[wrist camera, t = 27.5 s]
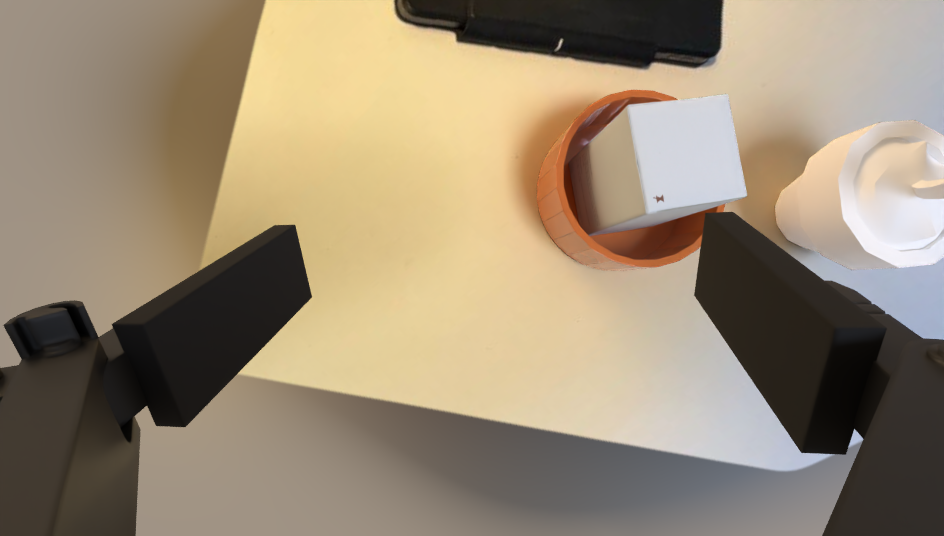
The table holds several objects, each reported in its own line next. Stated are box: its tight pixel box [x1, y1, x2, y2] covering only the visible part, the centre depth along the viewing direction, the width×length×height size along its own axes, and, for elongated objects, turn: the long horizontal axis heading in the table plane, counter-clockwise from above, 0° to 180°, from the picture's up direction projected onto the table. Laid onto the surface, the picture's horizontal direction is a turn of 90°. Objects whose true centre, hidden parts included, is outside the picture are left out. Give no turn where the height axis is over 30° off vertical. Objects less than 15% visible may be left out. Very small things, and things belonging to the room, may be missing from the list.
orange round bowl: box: [537, 90, 725, 271], centre depth 40 cm, size 14×14×6 cm
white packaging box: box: [569, 94, 747, 236], centre depth 36 cm, size 7×7×13 cm
